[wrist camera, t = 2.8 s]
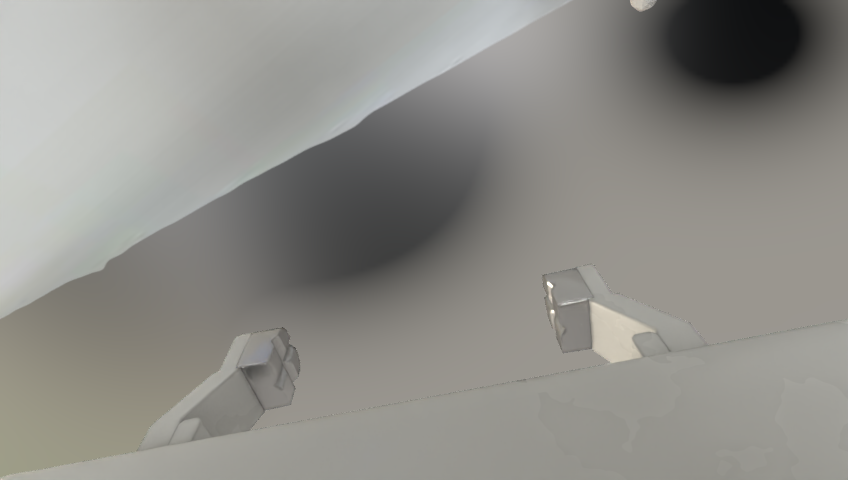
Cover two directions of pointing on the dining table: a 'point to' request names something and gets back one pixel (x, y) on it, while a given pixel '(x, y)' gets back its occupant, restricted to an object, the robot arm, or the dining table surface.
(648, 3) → the slotted white cylinder
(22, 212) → the dining table surface
